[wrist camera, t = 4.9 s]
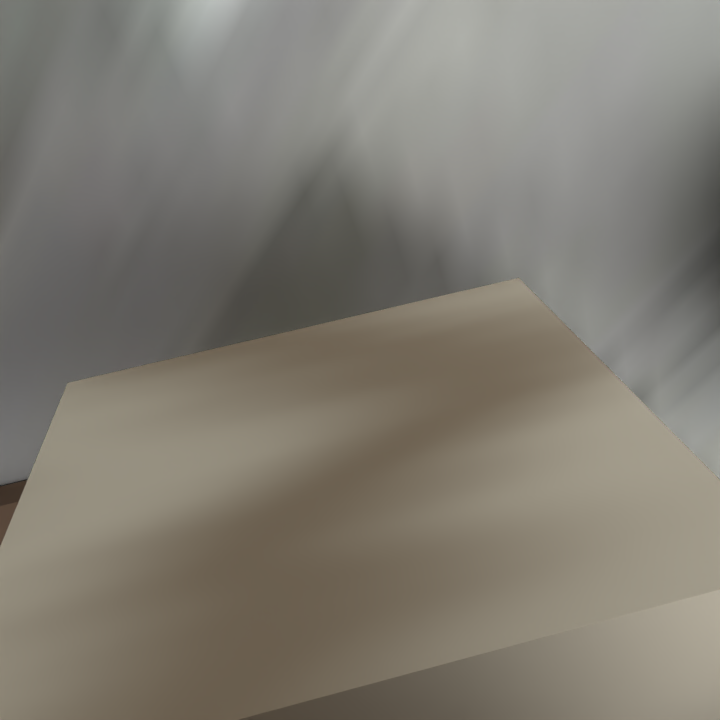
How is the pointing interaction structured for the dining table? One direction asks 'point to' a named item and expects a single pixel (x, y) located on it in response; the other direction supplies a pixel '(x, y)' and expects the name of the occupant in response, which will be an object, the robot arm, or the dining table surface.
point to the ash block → (366, 533)
